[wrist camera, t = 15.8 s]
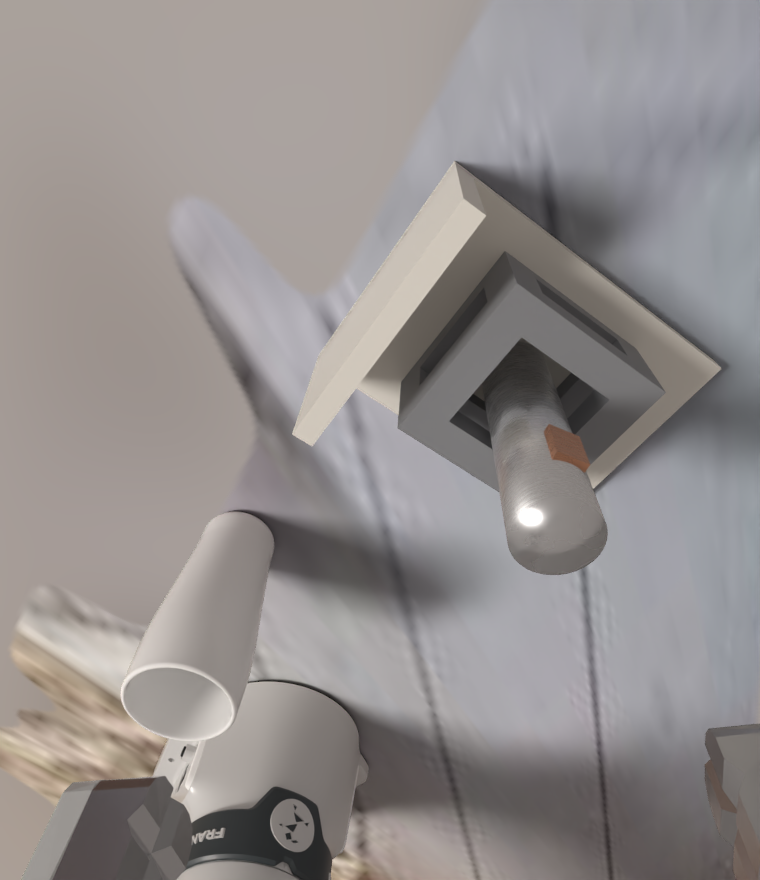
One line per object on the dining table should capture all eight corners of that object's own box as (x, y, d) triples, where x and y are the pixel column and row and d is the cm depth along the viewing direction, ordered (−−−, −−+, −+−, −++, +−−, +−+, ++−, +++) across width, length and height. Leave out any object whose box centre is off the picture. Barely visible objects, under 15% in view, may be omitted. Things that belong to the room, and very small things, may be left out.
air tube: (526, 409, 43) (574, 586, 29) (469, 386, 42) (490, 555, 28) (561, 352, 41) (631, 513, 27) (502, 326, 40) (542, 478, 26)
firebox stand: (558, 508, 48) (587, 611, 39) (318, 354, 43) (292, 434, 34) (714, 360, 42) (789, 444, 33) (454, 160, 37) (463, 198, 28)
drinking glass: (221, 484, 48) (148, 645, 36) (302, 529, 50) (260, 699, 37) (180, 543, 52) (99, 711, 39) (258, 584, 53) (204, 758, 40)
